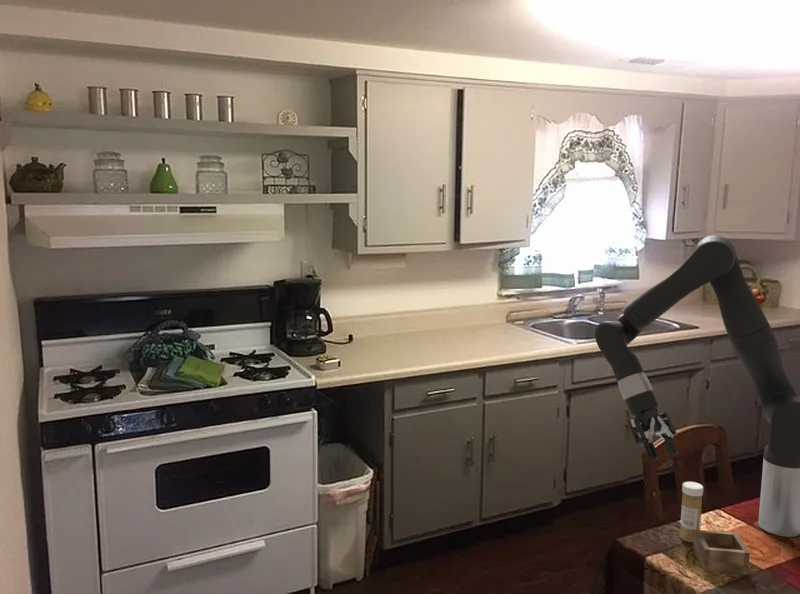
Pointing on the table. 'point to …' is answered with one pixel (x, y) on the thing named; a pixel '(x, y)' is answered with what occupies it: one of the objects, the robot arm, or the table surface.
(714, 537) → the open square sleeve
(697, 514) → the sprinkles bottle
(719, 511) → the table surface
